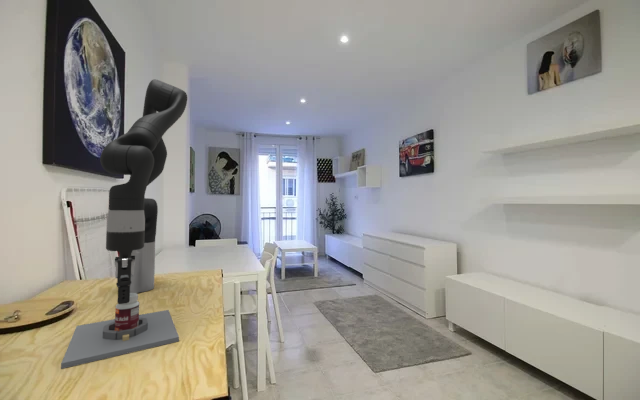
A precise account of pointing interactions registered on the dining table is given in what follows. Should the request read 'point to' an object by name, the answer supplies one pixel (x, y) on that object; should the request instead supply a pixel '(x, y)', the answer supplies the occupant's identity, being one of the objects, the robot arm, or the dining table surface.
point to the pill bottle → (127, 314)
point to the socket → (118, 338)
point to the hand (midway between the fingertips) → (124, 297)
